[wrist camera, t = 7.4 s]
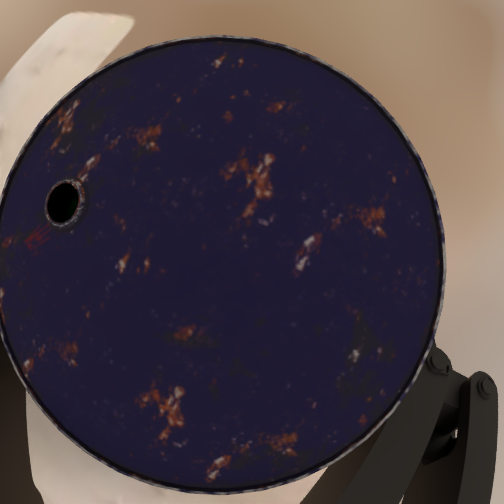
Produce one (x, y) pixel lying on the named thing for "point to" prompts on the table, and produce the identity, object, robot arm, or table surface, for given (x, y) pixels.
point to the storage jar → (219, 264)
